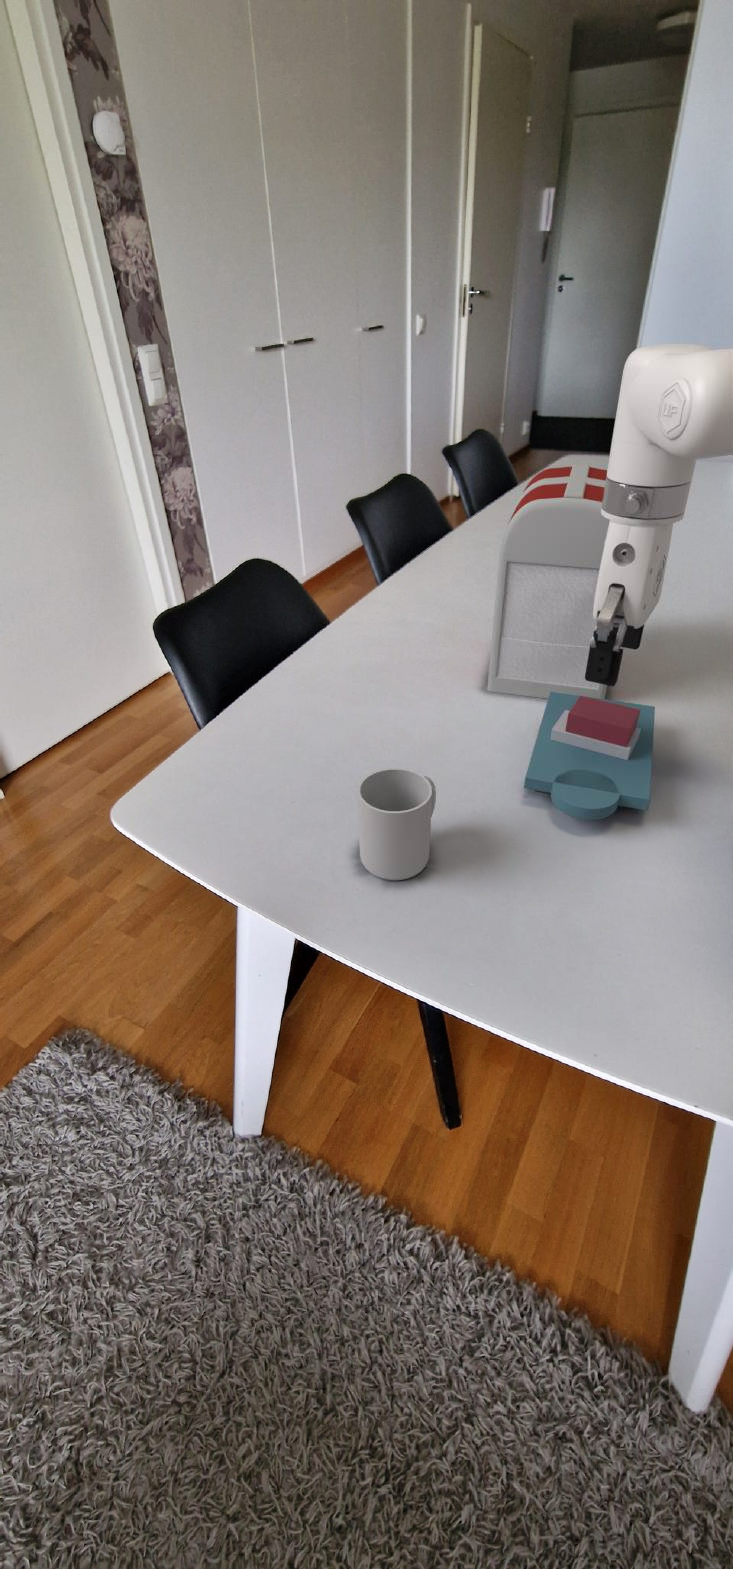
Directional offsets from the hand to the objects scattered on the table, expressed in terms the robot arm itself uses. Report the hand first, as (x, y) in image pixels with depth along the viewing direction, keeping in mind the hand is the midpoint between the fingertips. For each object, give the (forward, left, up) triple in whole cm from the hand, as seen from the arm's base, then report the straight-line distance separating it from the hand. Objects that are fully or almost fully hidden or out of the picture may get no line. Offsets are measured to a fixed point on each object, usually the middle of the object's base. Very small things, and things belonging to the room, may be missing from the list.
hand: (612, 663), depth 76 cm
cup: (+24, +13, -14) cm, 31 cm away
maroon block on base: (0, 0, -10) cm, 10 cm away
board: (+1, +1, -14) cm, 14 cm away
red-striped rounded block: (-2, -25, -14) cm, 29 cm away
